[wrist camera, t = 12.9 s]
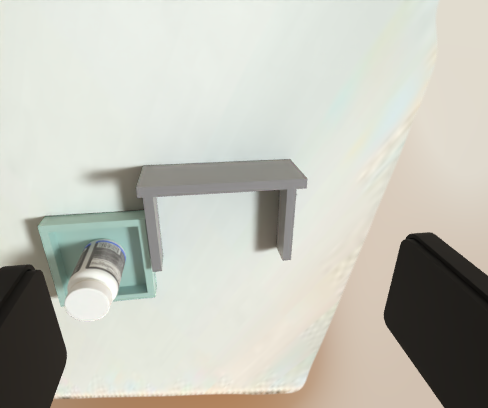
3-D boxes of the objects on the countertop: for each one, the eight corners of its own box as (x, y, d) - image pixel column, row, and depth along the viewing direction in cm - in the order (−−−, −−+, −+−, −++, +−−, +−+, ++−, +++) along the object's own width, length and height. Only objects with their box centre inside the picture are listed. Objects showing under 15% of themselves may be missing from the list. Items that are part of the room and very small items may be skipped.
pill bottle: (97, 277, 40) (77, 332, 33) (74, 247, 38) (47, 297, 31) (134, 262, 40) (123, 314, 33) (113, 231, 38) (96, 278, 31)
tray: (45, 216, 37) (37, 226, 35) (146, 209, 38) (144, 219, 36) (66, 293, 41) (60, 306, 39) (156, 285, 43) (155, 297, 41)
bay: (143, 165, 36) (135, 187, 31) (290, 159, 38) (307, 178, 33) (154, 256, 41) (150, 289, 36) (284, 246, 43) (298, 275, 38)
